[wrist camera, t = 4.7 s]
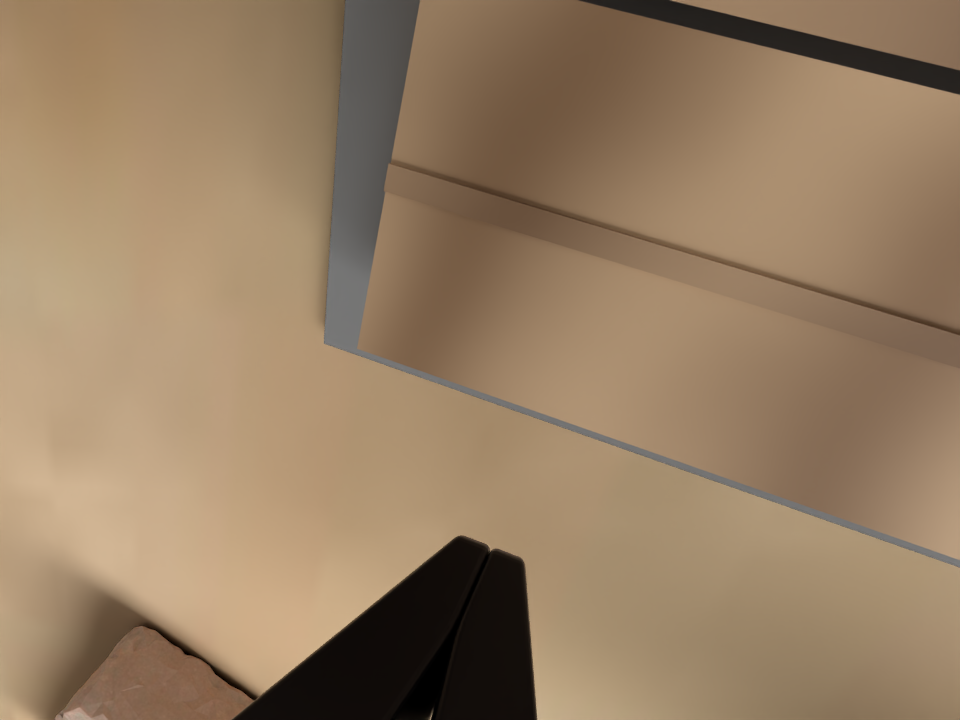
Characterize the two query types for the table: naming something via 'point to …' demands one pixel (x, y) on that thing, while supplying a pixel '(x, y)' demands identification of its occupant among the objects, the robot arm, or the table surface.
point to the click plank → (684, 251)
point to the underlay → (370, 141)
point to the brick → (153, 685)
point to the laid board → (863, 23)
